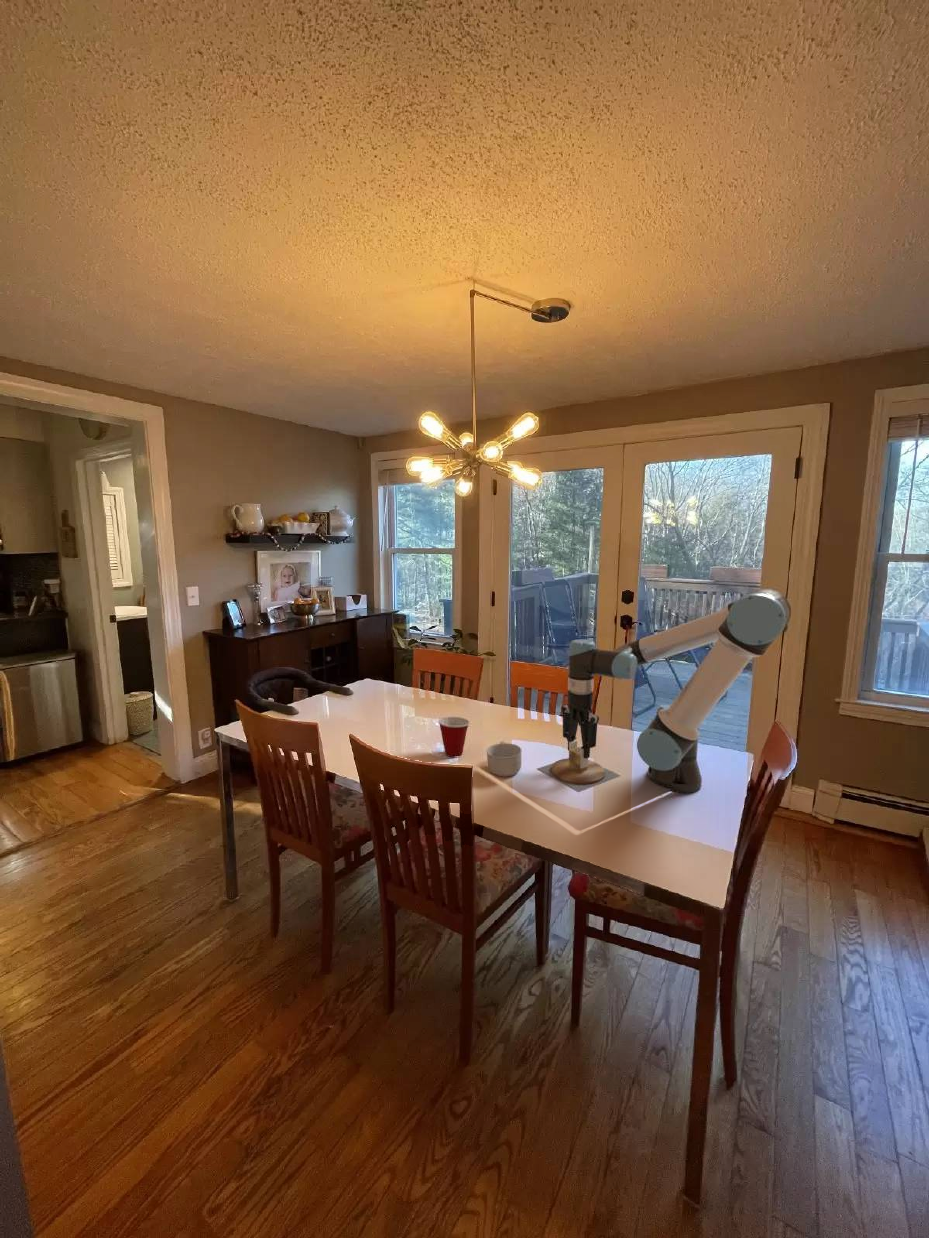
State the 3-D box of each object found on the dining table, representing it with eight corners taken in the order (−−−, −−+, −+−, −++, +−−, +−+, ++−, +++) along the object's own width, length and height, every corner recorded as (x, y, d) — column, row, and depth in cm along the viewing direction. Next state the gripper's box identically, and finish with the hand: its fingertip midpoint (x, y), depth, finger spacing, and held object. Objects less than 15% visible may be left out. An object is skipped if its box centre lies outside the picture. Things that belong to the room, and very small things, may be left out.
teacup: (519, 782, 155) (519, 757, 154) (483, 779, 157) (483, 754, 156) (523, 763, 168) (524, 739, 167) (490, 760, 170) (490, 737, 169)
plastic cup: (476, 753, 176) (476, 719, 174) (454, 763, 168) (454, 728, 166) (454, 744, 183) (453, 712, 181) (431, 754, 176) (431, 720, 174)
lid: (615, 775, 157) (616, 753, 156) (578, 789, 148) (579, 766, 147) (577, 756, 170) (577, 736, 169) (540, 769, 162) (541, 747, 160)
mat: (620, 778, 157) (620, 775, 157) (578, 795, 147) (578, 791, 147) (577, 758, 172) (577, 755, 172) (536, 771, 162) (536, 768, 162)
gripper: (551, 686, 160) (550, 757, 164) (593, 700, 146) (590, 777, 150) (569, 682, 164) (567, 751, 168) (611, 695, 150) (608, 771, 154)
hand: (578, 764), depth 159 cm, fingers closed on lid, 4 cm apart
